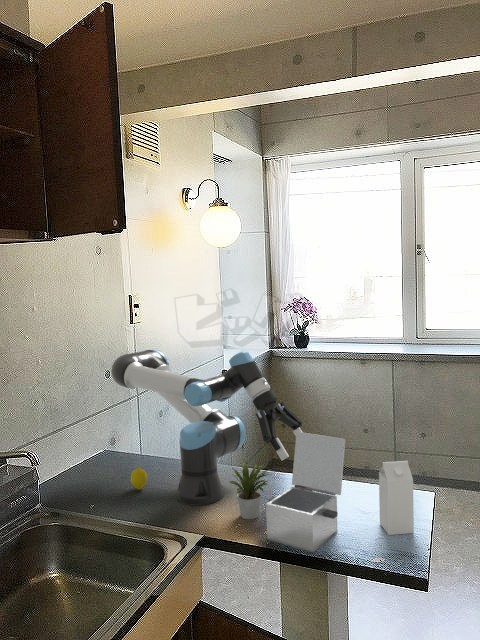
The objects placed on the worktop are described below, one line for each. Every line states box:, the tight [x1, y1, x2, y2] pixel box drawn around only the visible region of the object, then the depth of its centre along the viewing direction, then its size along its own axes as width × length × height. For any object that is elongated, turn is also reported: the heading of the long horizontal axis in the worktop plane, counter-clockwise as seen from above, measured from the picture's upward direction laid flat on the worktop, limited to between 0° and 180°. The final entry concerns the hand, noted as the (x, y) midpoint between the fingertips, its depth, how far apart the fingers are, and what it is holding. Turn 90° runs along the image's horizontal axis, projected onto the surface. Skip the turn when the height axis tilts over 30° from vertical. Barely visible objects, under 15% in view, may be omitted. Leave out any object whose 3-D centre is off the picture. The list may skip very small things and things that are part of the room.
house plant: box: [228, 461, 275, 520], centre depth 165 cm, size 14×14×16 cm
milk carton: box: [378, 460, 415, 536], centre depth 154 cm, size 7×7×19 cm
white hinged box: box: [265, 486, 339, 554], centre depth 152 cm, size 20×14×10 cm
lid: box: [291, 431, 346, 496], centre depth 160 cm, size 15×16×3 cm
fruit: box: [130, 466, 148, 491], centre depth 191 cm, size 6×6×8 cm
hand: (296, 452), depth 176 cm, fingers open, 13 cm apart
